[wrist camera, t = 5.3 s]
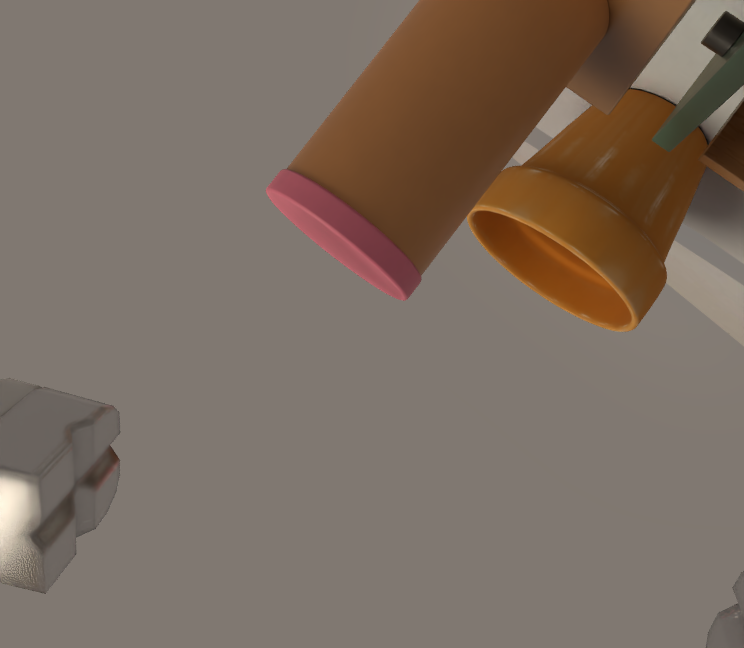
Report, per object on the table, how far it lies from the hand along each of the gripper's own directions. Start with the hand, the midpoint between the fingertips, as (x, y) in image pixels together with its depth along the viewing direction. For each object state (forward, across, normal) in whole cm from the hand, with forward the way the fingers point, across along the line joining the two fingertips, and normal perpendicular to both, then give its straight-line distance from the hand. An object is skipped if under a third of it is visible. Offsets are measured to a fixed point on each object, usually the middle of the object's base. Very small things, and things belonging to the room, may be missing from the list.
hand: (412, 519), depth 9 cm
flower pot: (+47, +12, 0) cm, 48 cm away
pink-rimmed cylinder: (+17, +1, +6) cm, 18 cm away
